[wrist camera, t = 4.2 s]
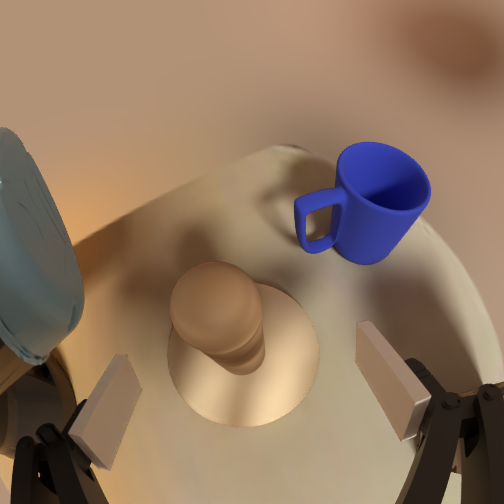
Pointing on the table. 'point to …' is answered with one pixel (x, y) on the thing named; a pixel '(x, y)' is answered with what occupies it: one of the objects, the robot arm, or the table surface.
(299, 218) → the mug
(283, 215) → the table surface
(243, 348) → the wooden peg on disc
